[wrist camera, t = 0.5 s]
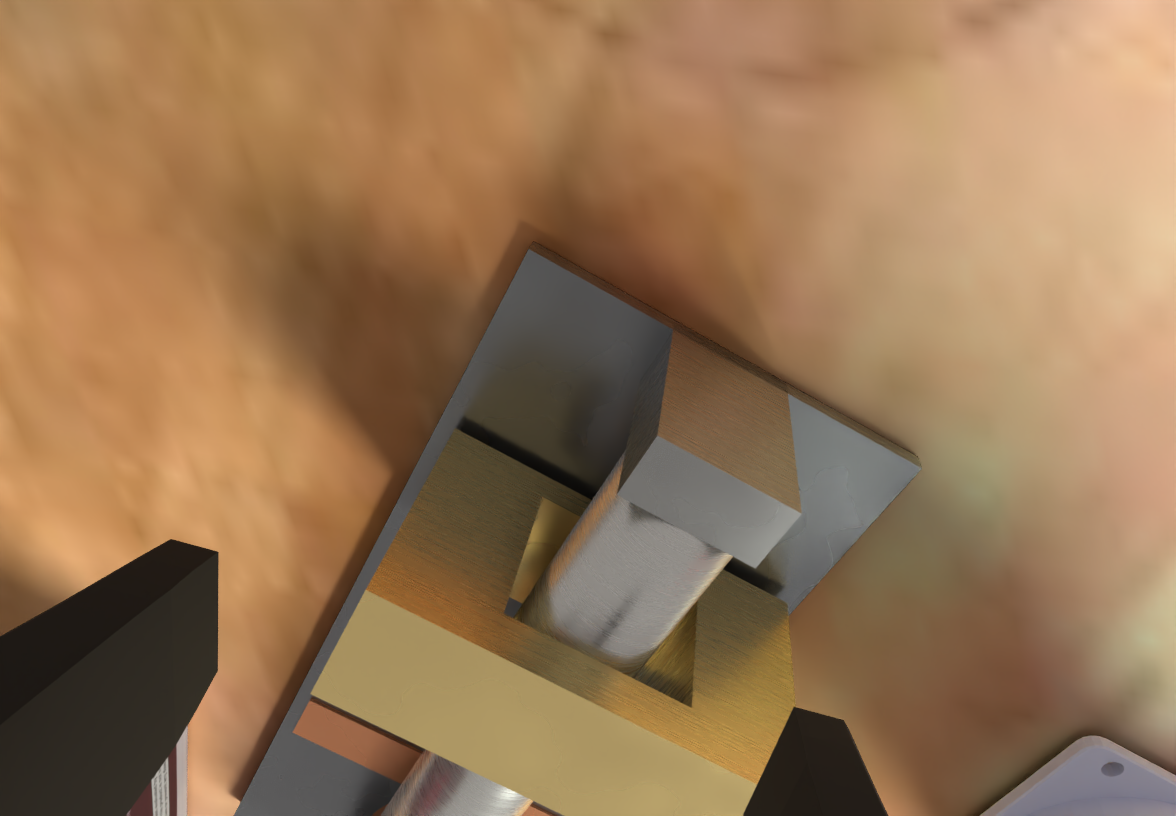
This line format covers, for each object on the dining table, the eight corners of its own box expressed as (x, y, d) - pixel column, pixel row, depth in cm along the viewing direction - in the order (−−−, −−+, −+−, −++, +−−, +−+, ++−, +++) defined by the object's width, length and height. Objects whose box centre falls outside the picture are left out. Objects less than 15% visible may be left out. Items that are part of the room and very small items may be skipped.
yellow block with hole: (455, 428, 20) (365, 590, 15) (787, 603, 21) (803, 808, 16) (406, 519, 21) (310, 694, 17) (719, 679, 22) (715, 887, 18)
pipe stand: (533, 241, 18) (470, 340, 14) (917, 456, 20) (971, 611, 15) (240, 803, 29) (151, 961, 25) (500, 922, 30) (460, 1095, 26)
